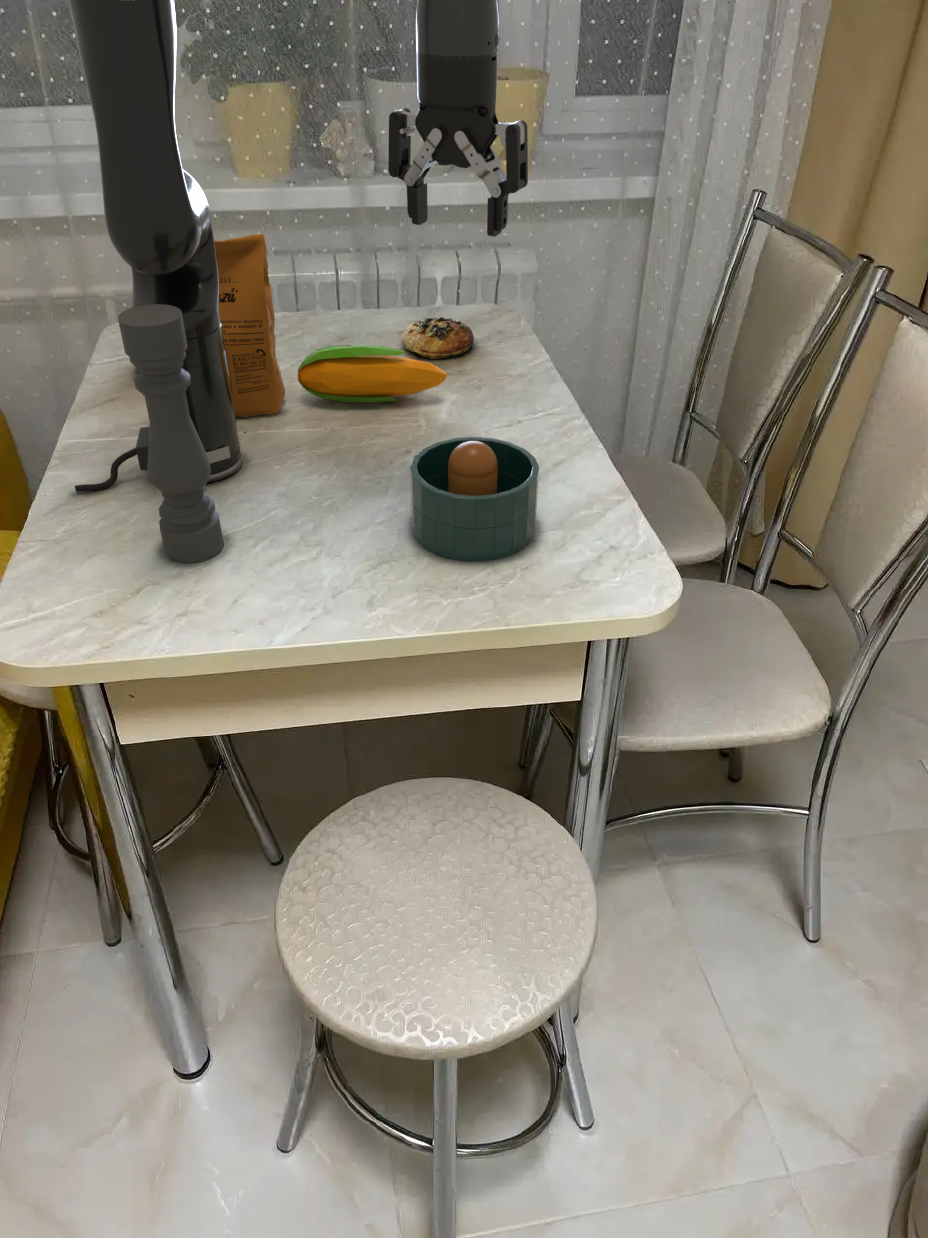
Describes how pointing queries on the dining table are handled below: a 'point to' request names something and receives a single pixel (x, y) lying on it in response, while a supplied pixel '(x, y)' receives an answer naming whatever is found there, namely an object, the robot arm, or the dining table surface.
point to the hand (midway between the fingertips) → (456, 228)
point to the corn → (365, 374)
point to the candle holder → (172, 432)
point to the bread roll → (438, 337)
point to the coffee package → (249, 325)
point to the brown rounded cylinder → (472, 470)
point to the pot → (474, 504)
